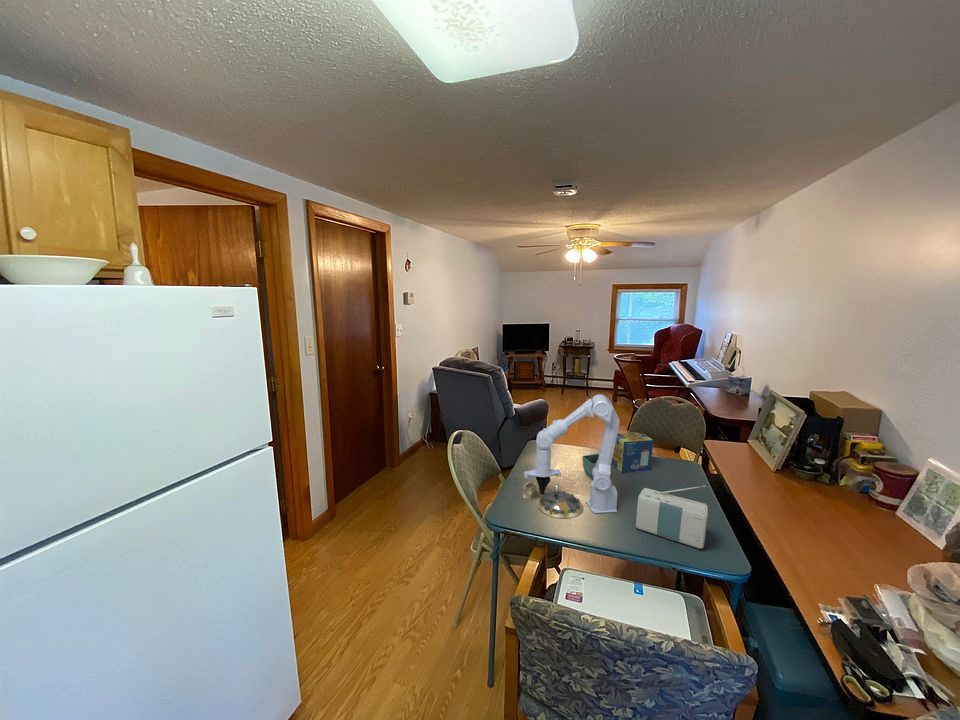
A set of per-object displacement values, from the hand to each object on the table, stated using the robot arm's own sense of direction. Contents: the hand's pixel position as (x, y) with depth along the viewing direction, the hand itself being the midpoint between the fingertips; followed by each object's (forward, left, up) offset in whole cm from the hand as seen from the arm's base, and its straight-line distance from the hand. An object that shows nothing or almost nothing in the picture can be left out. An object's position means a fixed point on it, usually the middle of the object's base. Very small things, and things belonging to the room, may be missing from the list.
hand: (541, 493), depth 155 cm
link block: (+4, -4, -3) cm, 7 cm away
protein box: (-50, -25, -4) cm, 56 cm away
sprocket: (-6, +4, -3) cm, 8 cm away
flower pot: (-29, -17, -3) cm, 34 cm away
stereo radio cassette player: (-38, +26, -4) cm, 46 cm away
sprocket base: (-6, +4, -3) cm, 8 cm away
